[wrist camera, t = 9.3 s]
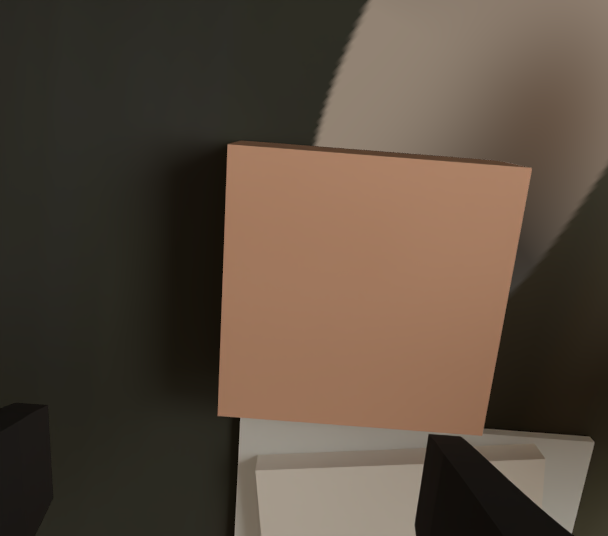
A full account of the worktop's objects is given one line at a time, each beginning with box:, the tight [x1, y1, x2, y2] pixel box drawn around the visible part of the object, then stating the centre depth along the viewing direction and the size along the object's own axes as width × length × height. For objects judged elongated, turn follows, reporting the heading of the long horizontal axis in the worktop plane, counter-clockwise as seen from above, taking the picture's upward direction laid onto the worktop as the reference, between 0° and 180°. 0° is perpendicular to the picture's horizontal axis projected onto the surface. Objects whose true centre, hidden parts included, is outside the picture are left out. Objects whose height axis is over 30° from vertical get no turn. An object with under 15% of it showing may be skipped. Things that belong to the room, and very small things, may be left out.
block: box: [218, 140, 532, 436], centre depth 18 cm, size 9×9×3 cm
